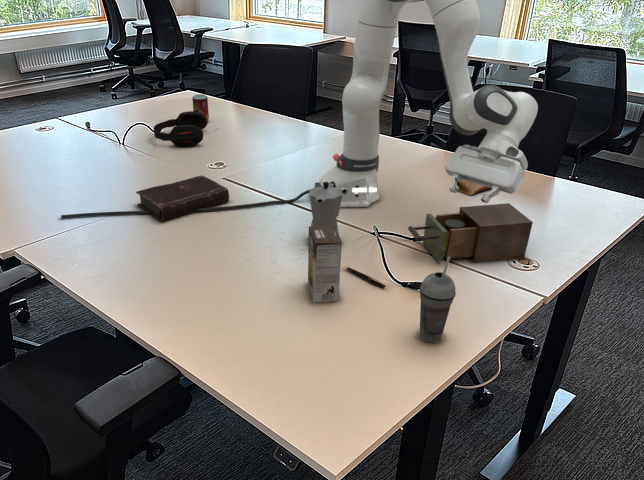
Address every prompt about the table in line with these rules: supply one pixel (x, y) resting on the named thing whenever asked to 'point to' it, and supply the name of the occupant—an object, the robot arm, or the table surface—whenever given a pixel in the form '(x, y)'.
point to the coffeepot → (325, 205)
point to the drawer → (436, 234)
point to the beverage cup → (435, 304)
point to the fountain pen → (366, 277)
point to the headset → (183, 129)
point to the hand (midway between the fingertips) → (467, 196)
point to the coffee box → (324, 263)
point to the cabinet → (499, 232)
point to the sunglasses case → (470, 187)
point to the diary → (182, 197)
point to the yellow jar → (452, 227)
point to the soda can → (201, 104)
